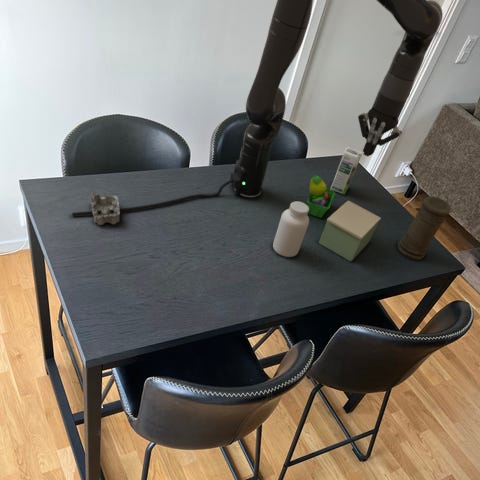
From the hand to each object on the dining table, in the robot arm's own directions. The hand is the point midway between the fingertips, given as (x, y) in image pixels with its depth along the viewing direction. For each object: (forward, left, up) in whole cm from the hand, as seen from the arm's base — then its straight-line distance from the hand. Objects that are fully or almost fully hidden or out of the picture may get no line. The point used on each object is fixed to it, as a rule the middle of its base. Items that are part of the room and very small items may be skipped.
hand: (366, 154), depth 131 cm
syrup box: (+12, +22, -26) cm, 36 cm away
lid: (-1, -8, -17) cm, 19 cm away
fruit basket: (-3, +11, -26) cm, 28 cm away
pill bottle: (-22, -8, -26) cm, 35 cm away
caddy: (-1, -7, -26) cm, 27 cm away
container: (+21, -13, -26) cm, 36 cm away
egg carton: (-71, +12, -26) cm, 76 cm away
